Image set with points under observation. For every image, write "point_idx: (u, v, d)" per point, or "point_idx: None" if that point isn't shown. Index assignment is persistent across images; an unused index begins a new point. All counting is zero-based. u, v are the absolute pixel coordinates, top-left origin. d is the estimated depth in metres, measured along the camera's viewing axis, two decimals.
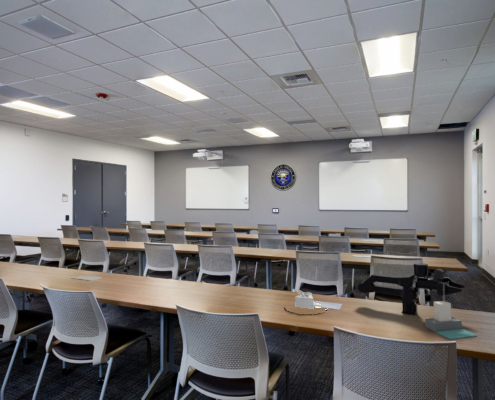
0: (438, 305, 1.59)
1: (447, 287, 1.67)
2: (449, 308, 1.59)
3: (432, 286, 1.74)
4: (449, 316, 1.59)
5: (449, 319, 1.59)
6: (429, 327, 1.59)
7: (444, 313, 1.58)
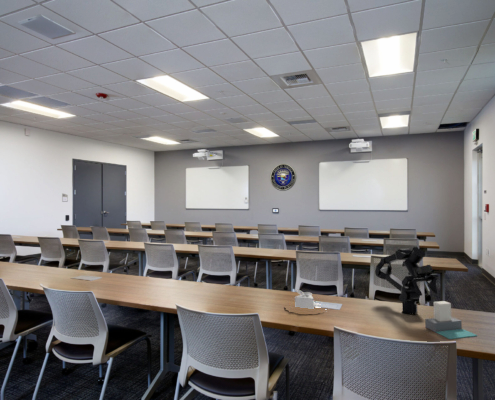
0: (438, 305, 1.59)
1: None
2: (449, 308, 1.59)
3: (410, 273, 1.78)
4: (449, 316, 1.59)
5: (449, 319, 1.59)
6: (429, 327, 1.59)
7: (444, 313, 1.58)
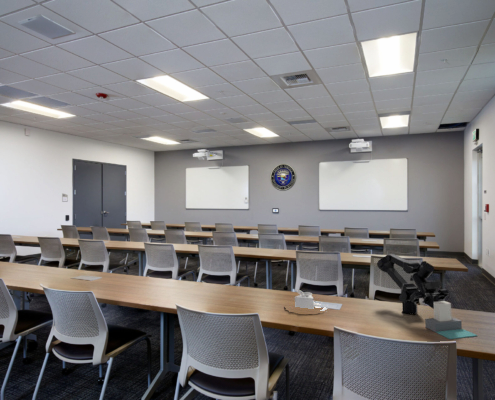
0: (438, 305, 1.59)
1: (429, 299, 1.66)
2: (449, 308, 1.59)
3: (419, 288, 1.72)
4: (449, 316, 1.59)
5: (449, 319, 1.59)
6: (429, 327, 1.59)
7: (444, 313, 1.58)
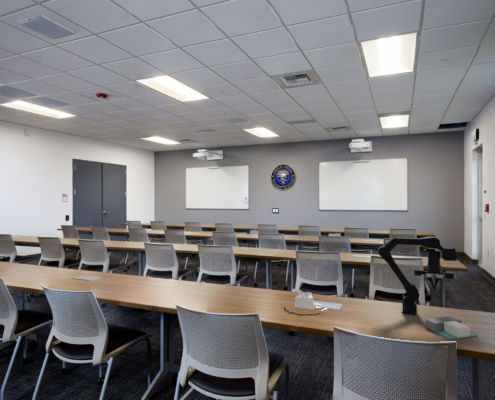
0: (456, 335, 1.49)
1: None
2: None
3: (440, 265, 1.78)
4: None
5: None
6: (429, 327, 1.59)
7: None
